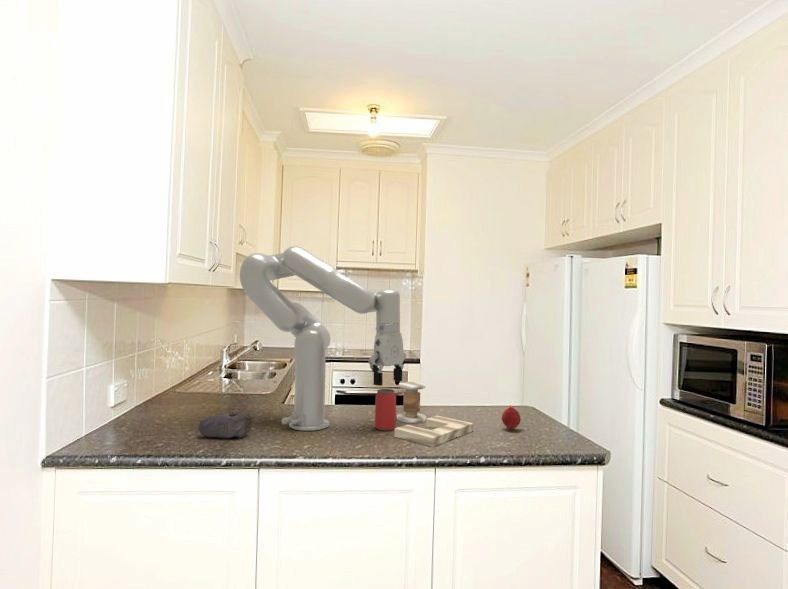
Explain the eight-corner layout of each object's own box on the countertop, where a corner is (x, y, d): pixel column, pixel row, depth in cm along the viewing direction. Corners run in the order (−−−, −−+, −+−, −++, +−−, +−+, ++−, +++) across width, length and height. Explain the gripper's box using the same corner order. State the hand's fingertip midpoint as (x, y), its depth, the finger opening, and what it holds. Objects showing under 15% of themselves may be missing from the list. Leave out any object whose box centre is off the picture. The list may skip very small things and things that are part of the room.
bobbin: (414, 424, 158) (415, 388, 158) (390, 419, 165) (391, 383, 165) (431, 419, 166) (432, 384, 166) (408, 414, 172) (409, 380, 172)
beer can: (396, 426, 156) (397, 389, 156) (394, 431, 149) (395, 393, 149) (376, 425, 157) (377, 388, 157) (373, 430, 150) (374, 392, 150)
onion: (521, 429, 156) (522, 404, 156) (518, 433, 151) (518, 408, 151) (503, 426, 158) (504, 402, 158) (499, 430, 153) (500, 405, 153)
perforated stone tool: (194, 439, 137) (195, 415, 137) (201, 434, 142) (202, 410, 142) (247, 440, 137) (248, 416, 137) (252, 435, 142) (253, 411, 142)
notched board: (432, 447, 135) (433, 438, 135) (394, 436, 144) (394, 428, 144) (473, 431, 152) (473, 423, 152) (436, 422, 161) (436, 415, 161)
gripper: (378, 331, 144) (378, 388, 144) (414, 328, 157) (414, 380, 157) (360, 330, 149) (360, 385, 149) (396, 327, 162) (396, 378, 162)
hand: (388, 382), depth 153 cm, fingers open, 9 cm apart
